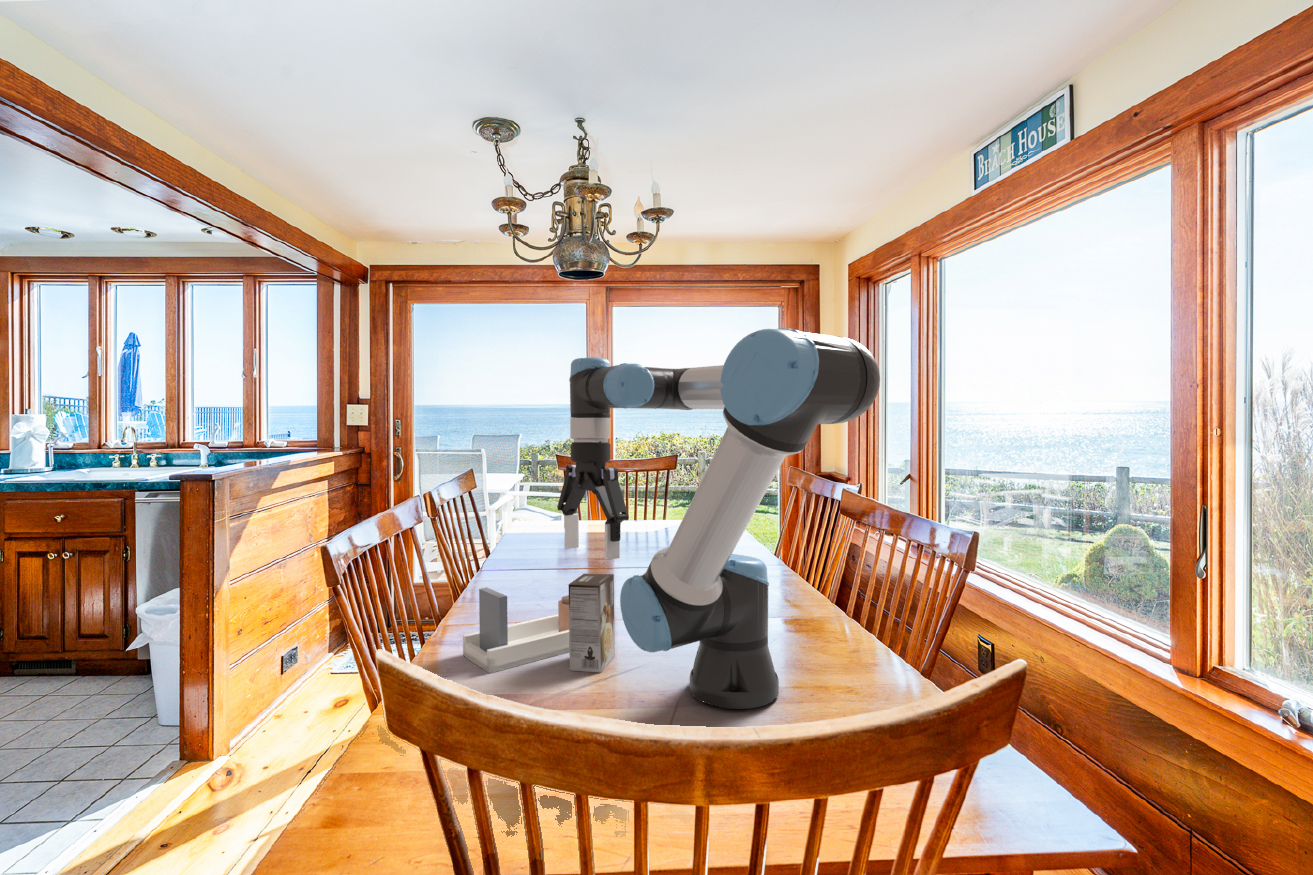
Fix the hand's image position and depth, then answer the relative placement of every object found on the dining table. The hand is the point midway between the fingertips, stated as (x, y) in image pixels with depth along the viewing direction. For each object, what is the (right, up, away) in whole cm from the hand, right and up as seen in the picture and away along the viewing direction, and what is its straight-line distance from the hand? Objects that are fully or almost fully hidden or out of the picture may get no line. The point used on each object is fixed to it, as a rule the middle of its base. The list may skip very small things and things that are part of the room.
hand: (591, 553), depth 119 cm
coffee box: (0, -21, 0) cm, 21 cm away
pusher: (-19, -20, +2) cm, 27 cm away
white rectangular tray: (-12, -21, +8) cm, 25 cm away
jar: (-5, -20, +14) cm, 24 cm away
